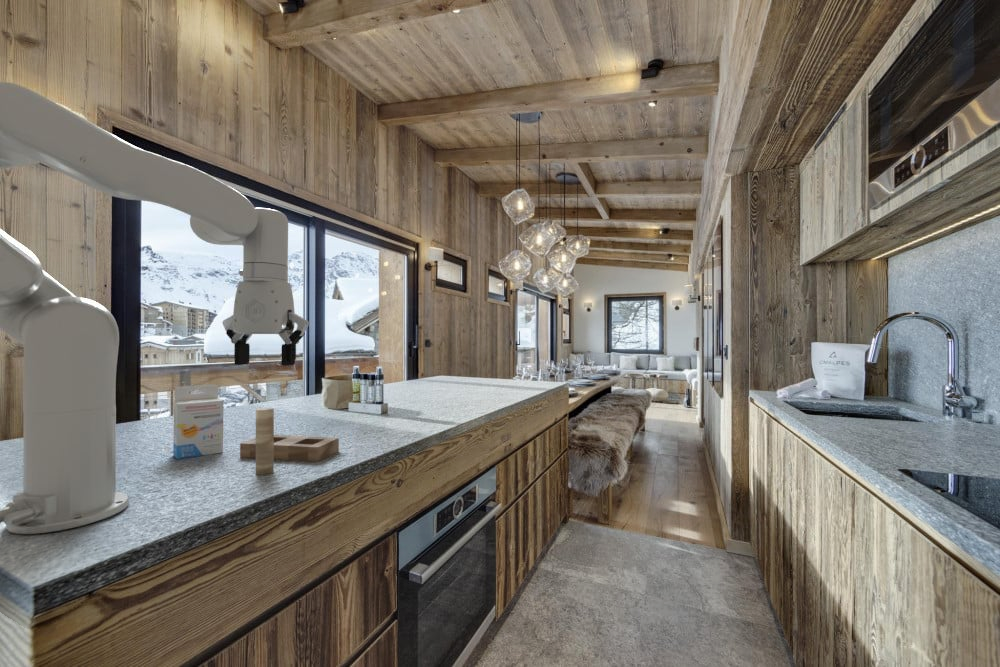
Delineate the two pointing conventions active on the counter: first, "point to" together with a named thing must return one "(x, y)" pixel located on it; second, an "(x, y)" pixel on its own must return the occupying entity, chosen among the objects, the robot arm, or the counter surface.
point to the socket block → (295, 448)
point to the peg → (264, 441)
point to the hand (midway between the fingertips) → (265, 364)
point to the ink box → (197, 422)
